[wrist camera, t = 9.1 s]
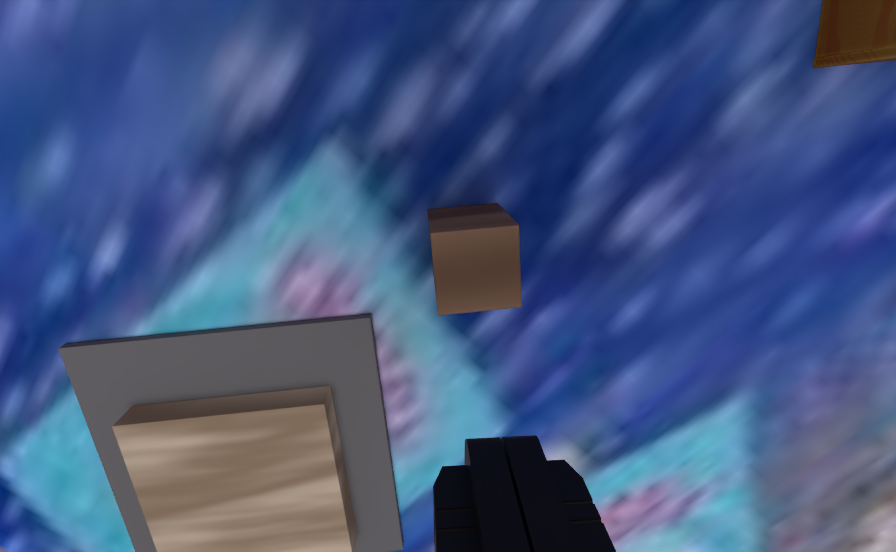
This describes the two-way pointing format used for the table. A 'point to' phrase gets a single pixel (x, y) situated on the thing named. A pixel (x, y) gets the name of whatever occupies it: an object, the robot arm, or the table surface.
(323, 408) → the tile
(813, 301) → the table surface
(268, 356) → the mat
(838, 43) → the spider toy trap
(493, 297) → the block
